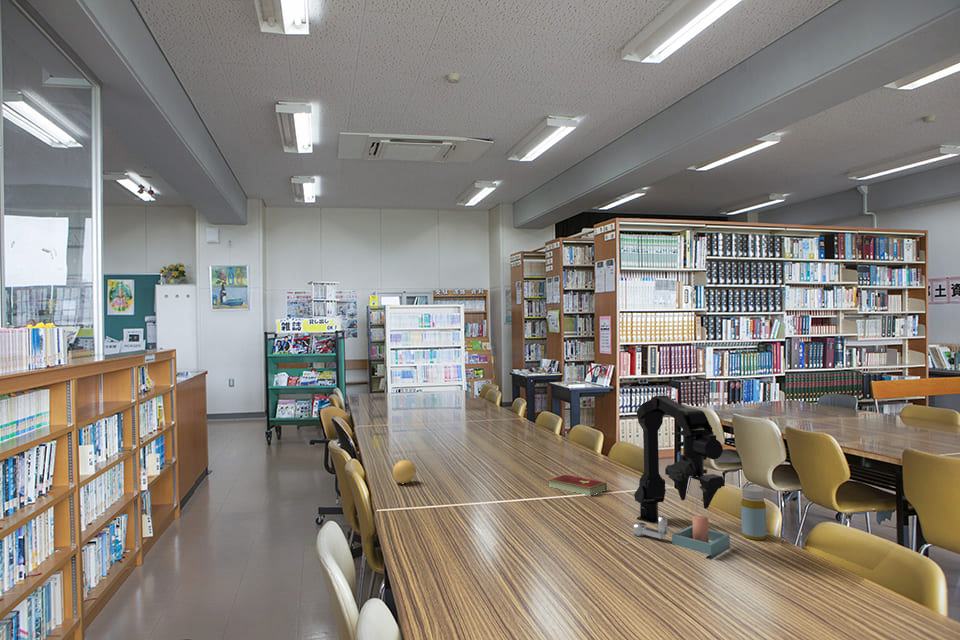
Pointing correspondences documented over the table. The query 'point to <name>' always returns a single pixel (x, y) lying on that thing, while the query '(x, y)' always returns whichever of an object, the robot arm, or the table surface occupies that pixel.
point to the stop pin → (700, 528)
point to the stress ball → (404, 471)
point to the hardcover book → (577, 484)
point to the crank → (642, 530)
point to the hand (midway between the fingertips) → (694, 504)
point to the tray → (713, 549)
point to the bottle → (753, 513)
